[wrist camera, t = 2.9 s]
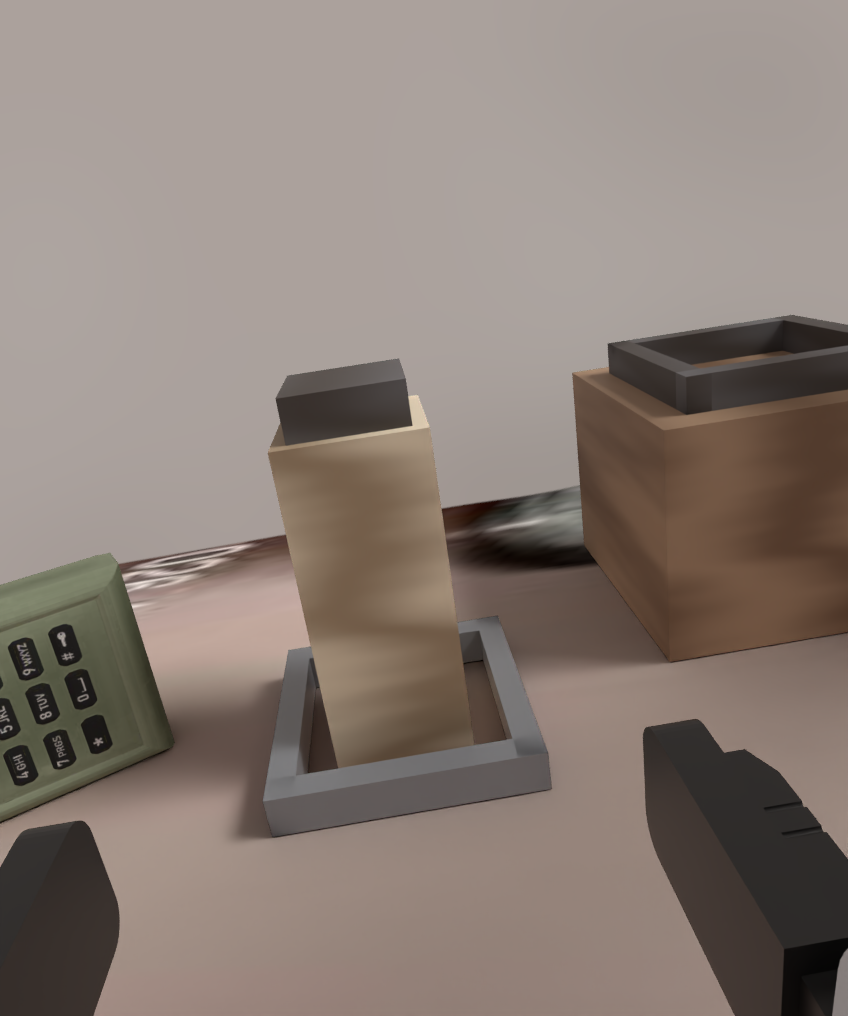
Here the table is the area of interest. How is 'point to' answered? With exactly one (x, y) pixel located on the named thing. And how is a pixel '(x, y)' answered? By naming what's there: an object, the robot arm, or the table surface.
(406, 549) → the beech plug
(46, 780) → the handheld radio
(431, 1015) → the table surface
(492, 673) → the low socket
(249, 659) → the table surface
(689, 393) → the walnut dock
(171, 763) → the table surface
